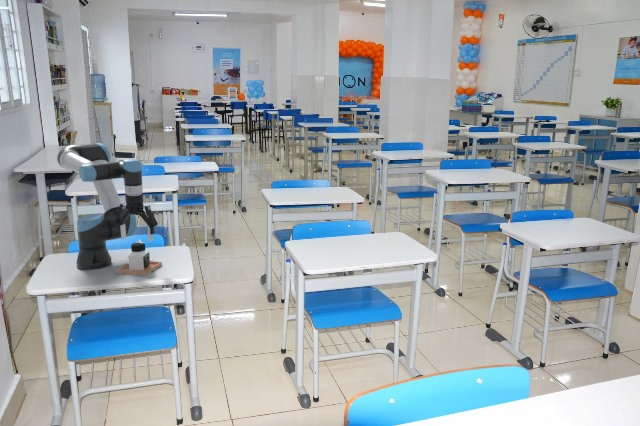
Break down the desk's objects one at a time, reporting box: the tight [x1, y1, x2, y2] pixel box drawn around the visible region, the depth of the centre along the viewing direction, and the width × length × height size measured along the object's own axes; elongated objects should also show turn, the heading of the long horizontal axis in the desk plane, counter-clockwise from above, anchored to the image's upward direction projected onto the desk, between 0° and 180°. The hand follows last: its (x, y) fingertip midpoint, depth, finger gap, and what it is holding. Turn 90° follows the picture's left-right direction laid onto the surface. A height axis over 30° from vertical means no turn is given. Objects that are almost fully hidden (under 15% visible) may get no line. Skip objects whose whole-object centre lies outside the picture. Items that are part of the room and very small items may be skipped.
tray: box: [116, 260, 163, 276], centre depth 241 cm, size 14×14×2 cm
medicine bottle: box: [127, 241, 151, 271], centre depth 240 cm, size 7×7×12 cm
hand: (137, 239), depth 238 cm, fingers open, 13 cm apart
